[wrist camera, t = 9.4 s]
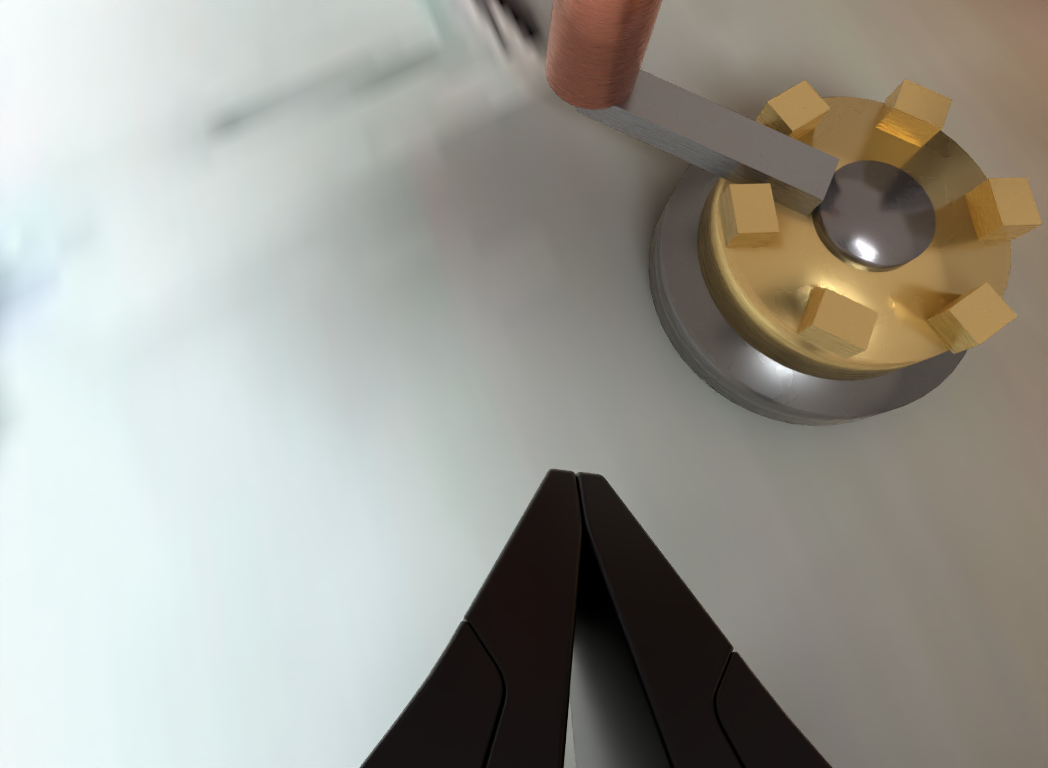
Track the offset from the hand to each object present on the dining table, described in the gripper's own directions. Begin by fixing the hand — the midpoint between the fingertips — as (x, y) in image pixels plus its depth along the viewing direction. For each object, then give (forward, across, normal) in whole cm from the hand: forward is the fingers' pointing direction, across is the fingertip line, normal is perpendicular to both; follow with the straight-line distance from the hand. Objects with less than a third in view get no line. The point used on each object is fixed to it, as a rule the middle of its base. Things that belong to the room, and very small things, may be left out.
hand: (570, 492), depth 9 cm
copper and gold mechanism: (+16, -7, -1) cm, 18 cm away
